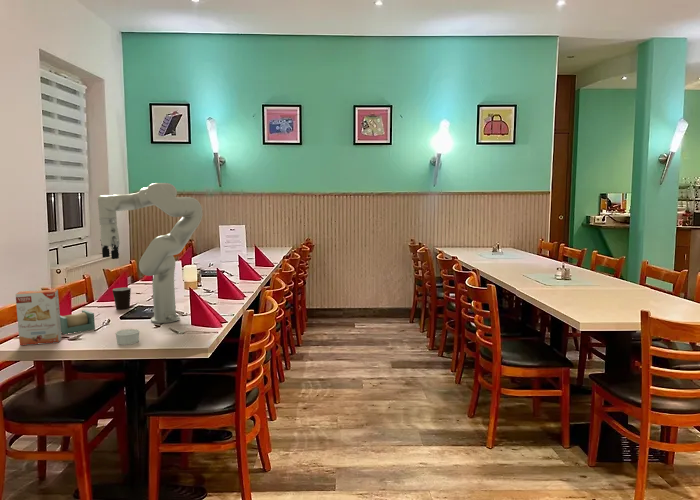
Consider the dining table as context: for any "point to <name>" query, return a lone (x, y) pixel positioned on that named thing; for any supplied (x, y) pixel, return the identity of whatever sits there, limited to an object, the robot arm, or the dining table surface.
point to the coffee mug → (122, 298)
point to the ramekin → (127, 336)
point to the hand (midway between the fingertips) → (110, 257)
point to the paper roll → (76, 319)
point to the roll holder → (78, 328)
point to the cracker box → (38, 316)
